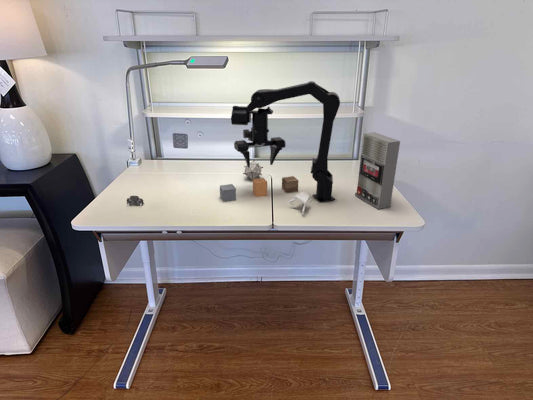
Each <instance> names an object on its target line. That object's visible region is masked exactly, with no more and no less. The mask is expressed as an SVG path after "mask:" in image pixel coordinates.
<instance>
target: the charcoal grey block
mask: <svg viewBox="0 0 533 400" xmlns="http://www.w3.org/2000/svg"><path fill="white" fill-rule="evenodd" d="M219 197H220V199H221V200H222V203H228V202H229V203H230V202H234V201H237V188H236V186H234V184H233V183H230V184H222V185H219Z"/></svg>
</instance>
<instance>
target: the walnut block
mask: <svg viewBox="0 0 533 400" xmlns="http://www.w3.org/2000/svg"><path fill="white" fill-rule="evenodd" d="M281 189H282V190H283V191H284V192H285V193H286V194H291V193H297V192H299V179H298V178H297V177H295V176H293V175H292V176H285V177H284V176H283V177H281Z"/></svg>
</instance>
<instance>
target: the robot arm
mask: <svg viewBox="0 0 533 400" xmlns="http://www.w3.org/2000/svg"><path fill="white" fill-rule="evenodd" d="M307 95H310V96H312V97H313V98H314V99H315V100H317V101H318V102H319V103H321V104H322V109H323V110H322V113H323V116H322V118H323V121H322V126H321V133H320V139H319V144H318V153H317V156H316V158H314V157H313V158H312V163H311V167H310V174H311V175H312V179H313V180H314V181H316V189H315V191H316V193H315V194H312V197H313V198H314V199H316V200H317V202H320V203H322V202H330V201H335V200H336V199H335V197H334V196H332V194H333V184H334V180H333V179H334V178H333V176H334V175H333V174H332V173H331V172H330V171H329V167H328V158H329V152H330V145H331V139H332V132H333V127H334V121H335V119H336V116H337V114H338V111H339V108H340V105H341V99H340V96H339V95H338V93H336V92H334V91H328V90H327V89H326V88H323V87H322V86H320V85H319V84H317V83H316V82H315V81H311V80H310V81H307V82H305V83H300V84H296V85H291V86H286V87H282V88H277V89H276V88H275V89H273V88H272V89H271V88H268V89H267V88H265V89H258V90H256V91H254V92H253V93H252V95H251V97H250V103H248V104H247V106H242V105H241V106H239V105H233V106H232V111H231V115H230V120H231V121H230V122H231V124H232V125H235V126H249V123H252V125H251V128H250V129H243V132H242V137H243V139H247V140H248V141H250V142H247V141H246V140H243V139H241V140H235V141H234V143H233V146H234V148H233V149H235V150H236V151H237V152H239V153H240V154H242V156H243V159H244V160H245V164H246V163H247V164H246V166H248V168H249V167H250V163H251V162H250V161H251V159H250V157H251V156H250V151H249V149H251V148H259V147H269V148H270V156H269V165H270V166H273V164H274V162H275V160H276V158H277V156H278V154H279V153H280V151H282V150H283V148H286V140H285V139H283V138H282V137H280V136H276V137H275V136H274V137H270V140H268V139H269V136H268V135H269V132H270V129H269V128H268V127H269V125H268V124H269V121H268V120H269V115H272V114H273V113H274V110H273V109H271V107H270V105H272V104H274V103H276V102H278V101H282V100H283V101H284V100H288V99H291V98H292V99H294V98H297V97H303V96H307ZM265 107H267V108H265ZM256 109H257V110H256Z"/></svg>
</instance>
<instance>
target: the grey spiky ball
mask: <svg viewBox="0 0 533 400" xmlns="http://www.w3.org/2000/svg"><path fill="white" fill-rule="evenodd" d="M245 164H246V166H245V165H244V168H245V169H244V172H243V173H242V175H246V177H247V178H249V179H250V180H251V182H253V179H257V178H260V176H262V175H263V174H262V169H263V168H264V166H261V165H260V164H259V163H257V162H255V159H253V160H252V161H251V162H250V167H249V168H248V166H247V163H246V162H245Z"/></svg>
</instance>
